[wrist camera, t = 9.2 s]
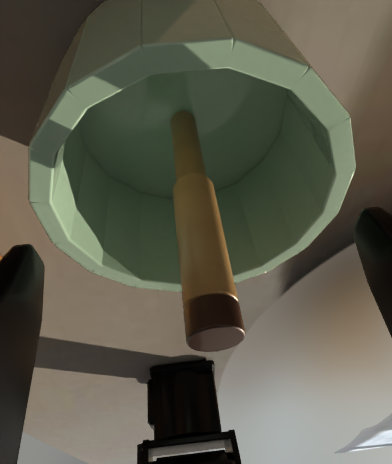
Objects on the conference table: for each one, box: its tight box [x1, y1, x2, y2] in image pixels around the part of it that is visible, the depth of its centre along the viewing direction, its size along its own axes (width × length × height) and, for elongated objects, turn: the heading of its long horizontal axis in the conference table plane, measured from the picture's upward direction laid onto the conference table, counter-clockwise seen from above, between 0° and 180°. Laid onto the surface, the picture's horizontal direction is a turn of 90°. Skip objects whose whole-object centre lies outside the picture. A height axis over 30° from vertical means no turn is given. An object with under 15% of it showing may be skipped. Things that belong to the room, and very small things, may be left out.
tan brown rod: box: [170, 111, 245, 352], centre depth 10 cm, size 1×1×9 cm
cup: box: [28, 0, 356, 292], centre depth 12 cm, size 9×9×6 cm
